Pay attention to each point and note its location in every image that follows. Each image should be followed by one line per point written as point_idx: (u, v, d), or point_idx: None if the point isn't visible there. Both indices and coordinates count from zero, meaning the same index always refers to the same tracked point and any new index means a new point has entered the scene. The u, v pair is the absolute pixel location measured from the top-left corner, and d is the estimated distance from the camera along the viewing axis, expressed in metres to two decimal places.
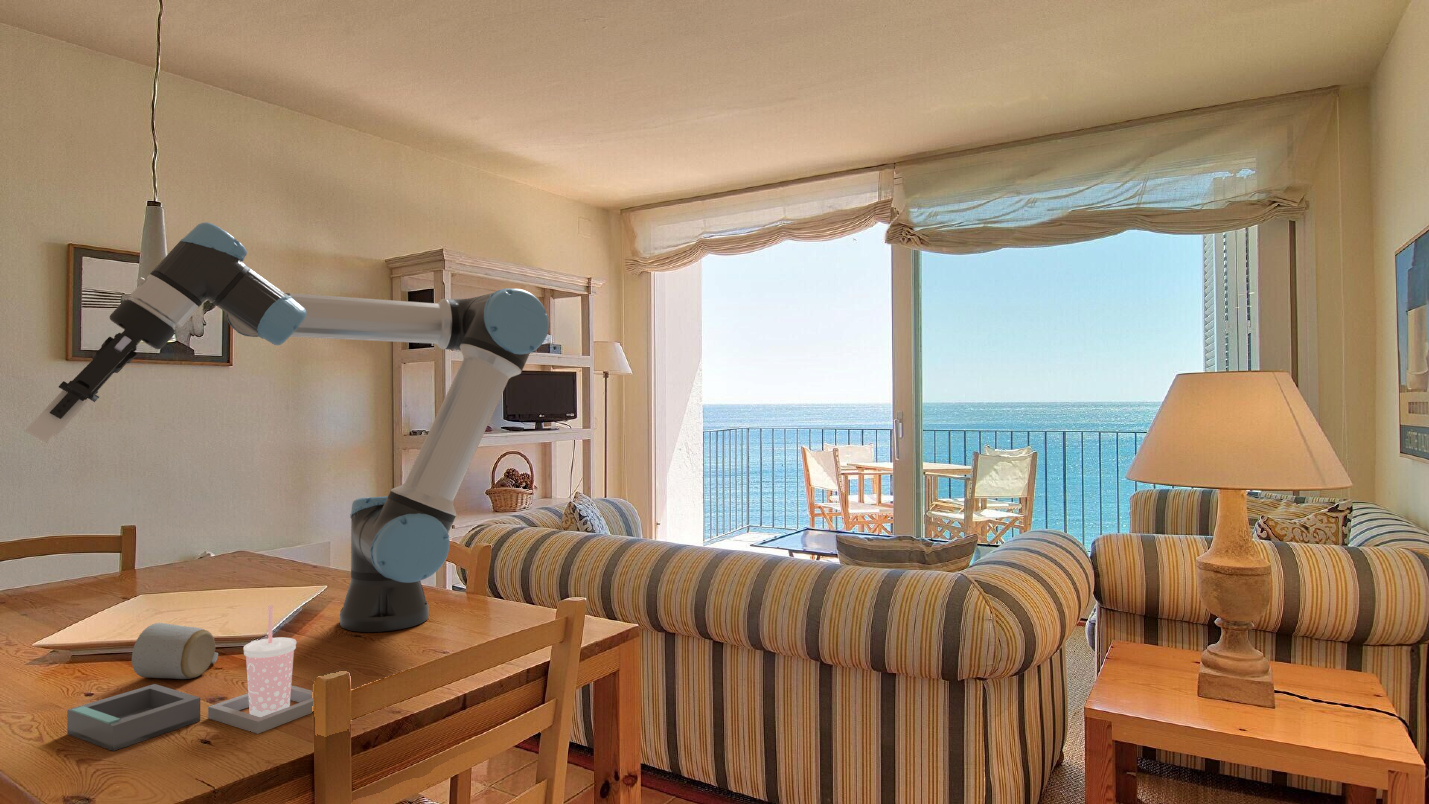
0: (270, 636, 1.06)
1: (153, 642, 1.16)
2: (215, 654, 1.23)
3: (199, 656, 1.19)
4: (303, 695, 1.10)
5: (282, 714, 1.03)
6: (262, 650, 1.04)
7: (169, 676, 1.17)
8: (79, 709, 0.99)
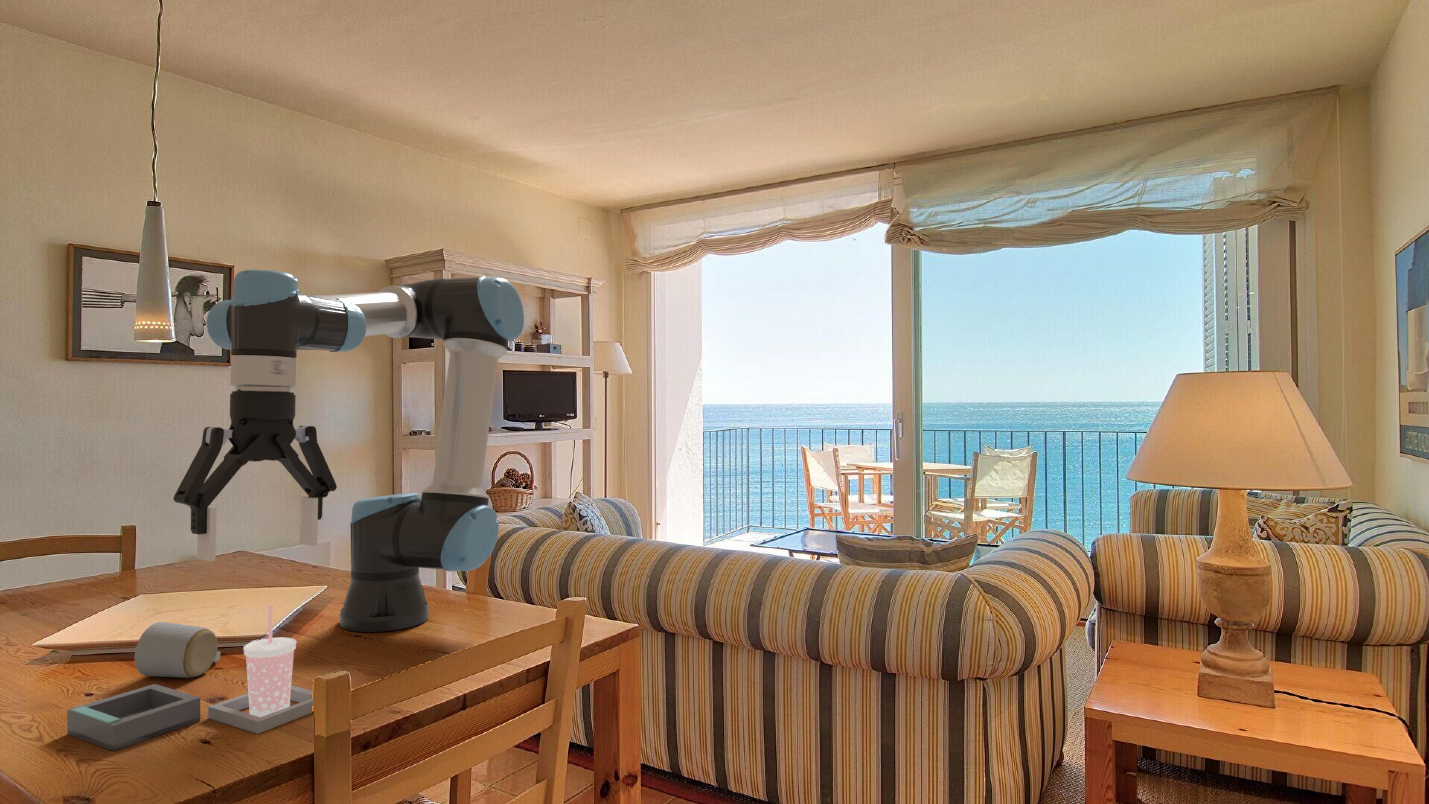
0: (270, 636, 1.06)
1: (156, 641, 1.17)
2: (217, 653, 1.24)
3: (202, 655, 1.19)
4: (303, 695, 1.10)
5: (282, 714, 1.03)
6: (262, 650, 1.04)
7: (171, 675, 1.17)
8: (79, 709, 0.99)
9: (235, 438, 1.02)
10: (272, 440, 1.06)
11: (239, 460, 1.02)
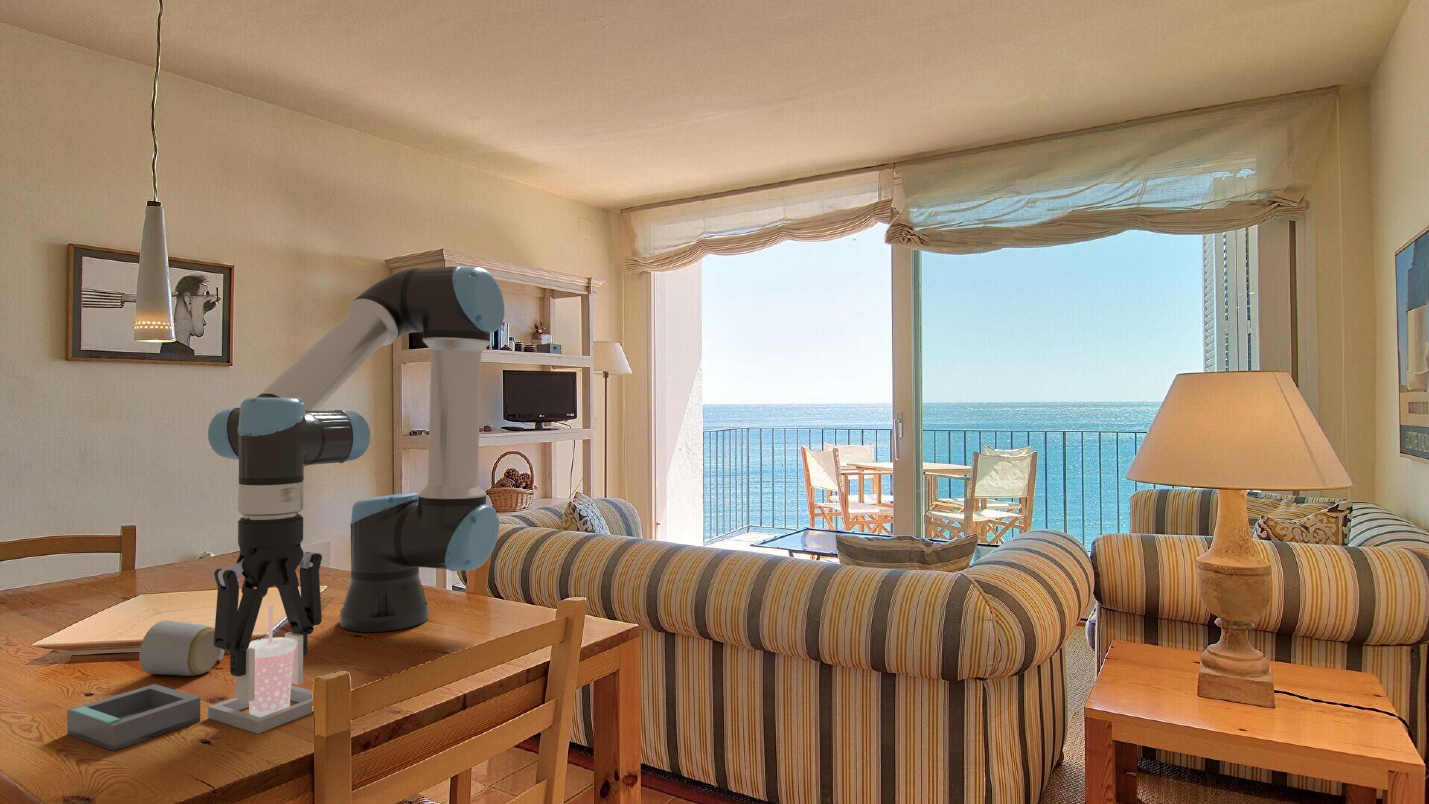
0: (270, 636, 1.06)
1: (160, 639, 1.18)
2: (221, 651, 1.25)
3: (206, 653, 1.20)
4: (303, 695, 1.10)
5: (282, 714, 1.03)
6: (262, 650, 1.04)
7: (176, 673, 1.18)
8: (79, 709, 0.99)
9: (247, 570, 1.03)
10: (281, 563, 1.06)
11: (259, 594, 1.03)
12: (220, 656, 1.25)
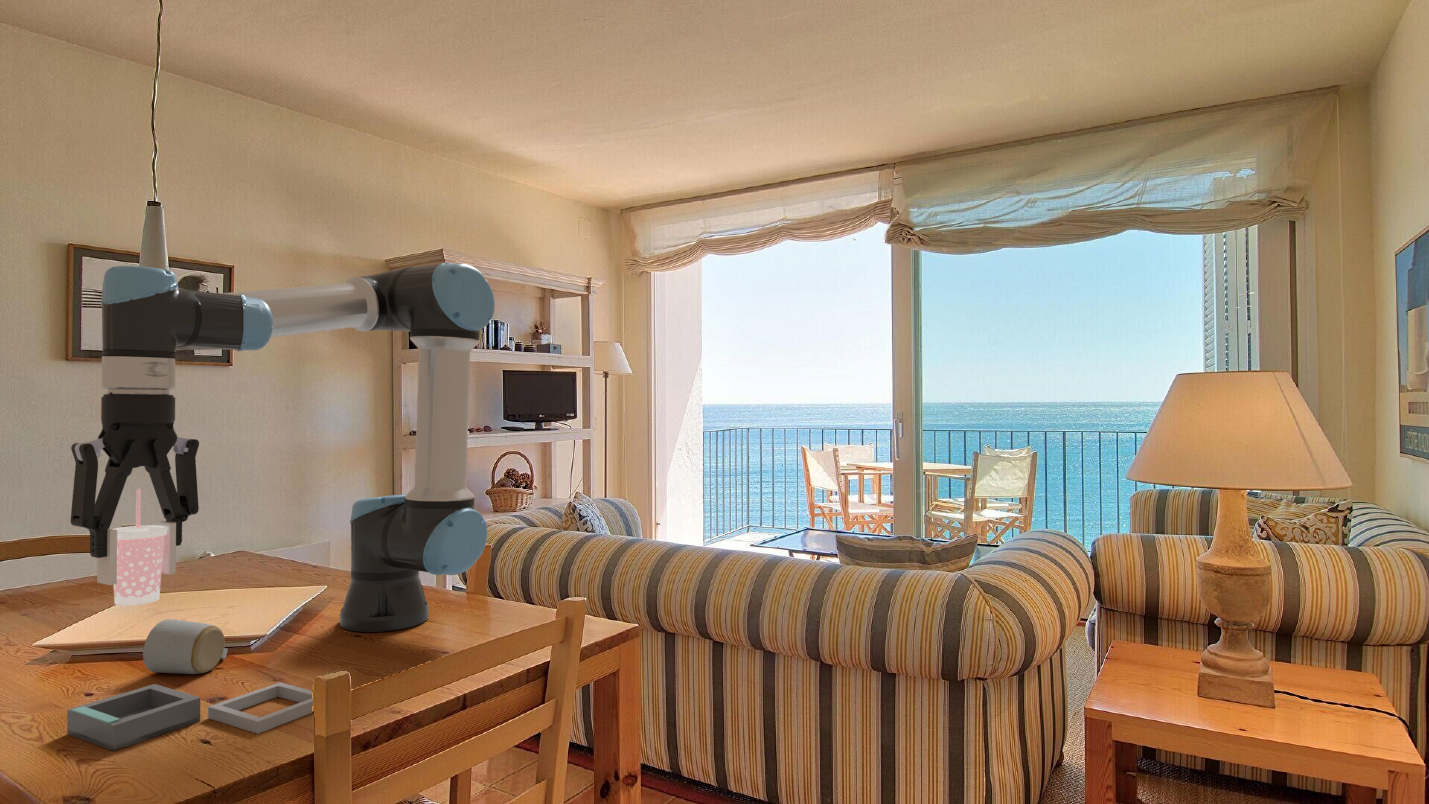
0: (138, 520, 1.01)
1: (164, 638, 1.18)
2: (224, 650, 1.25)
3: (209, 652, 1.21)
4: (303, 695, 1.10)
5: (282, 714, 1.03)
6: (127, 532, 0.99)
7: (179, 671, 1.19)
8: (79, 709, 0.99)
9: (109, 446, 0.97)
10: (149, 443, 1.01)
11: (122, 473, 0.98)
12: (223, 655, 1.25)
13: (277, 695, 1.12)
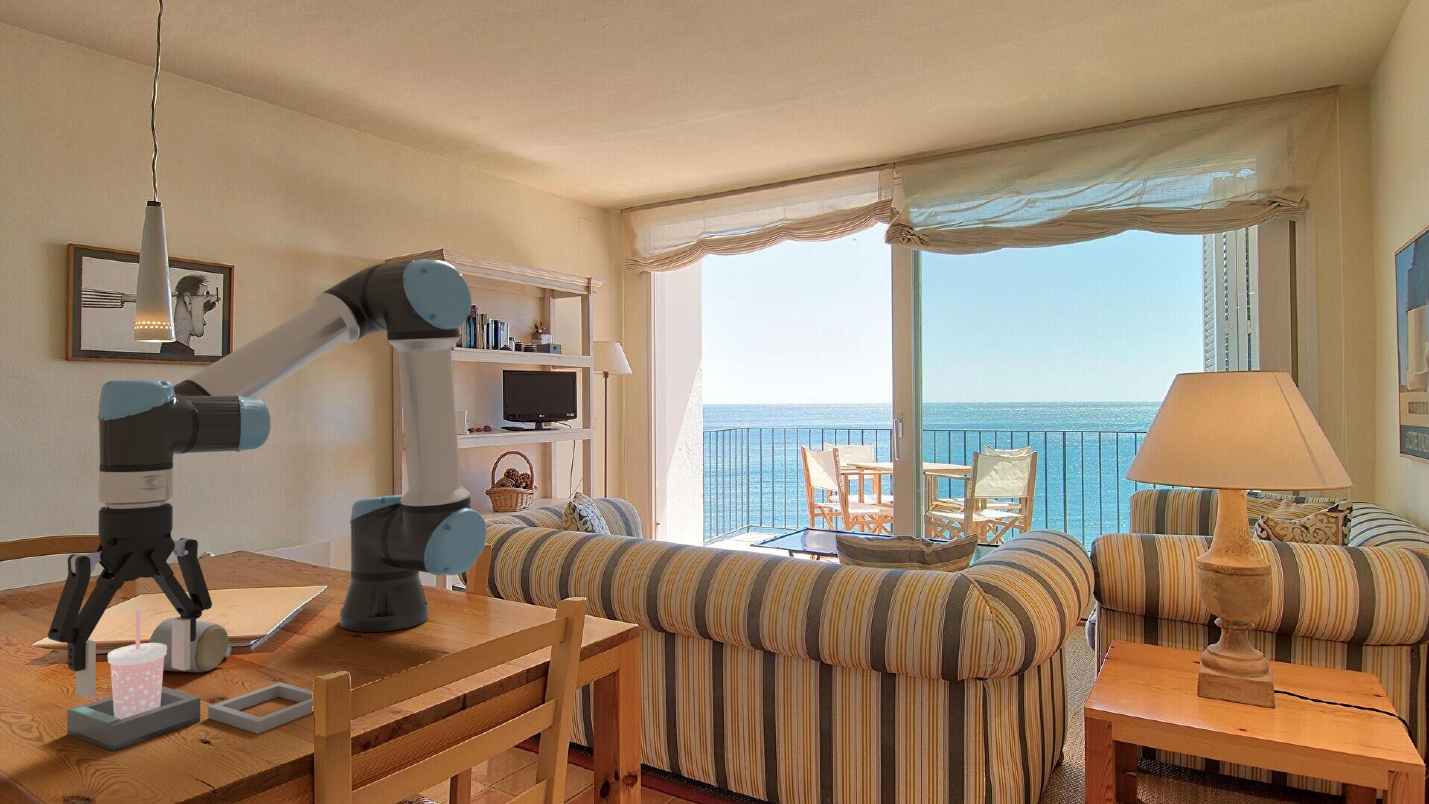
0: (137, 642, 1.01)
1: (168, 636, 1.19)
2: (228, 648, 1.26)
3: (213, 650, 1.21)
4: (303, 695, 1.10)
5: (282, 714, 1.03)
6: (126, 657, 0.99)
7: None
8: (79, 709, 0.99)
9: (104, 561, 0.97)
10: (147, 556, 1.01)
11: (113, 585, 0.97)
12: (227, 653, 1.26)
13: (277, 695, 1.12)
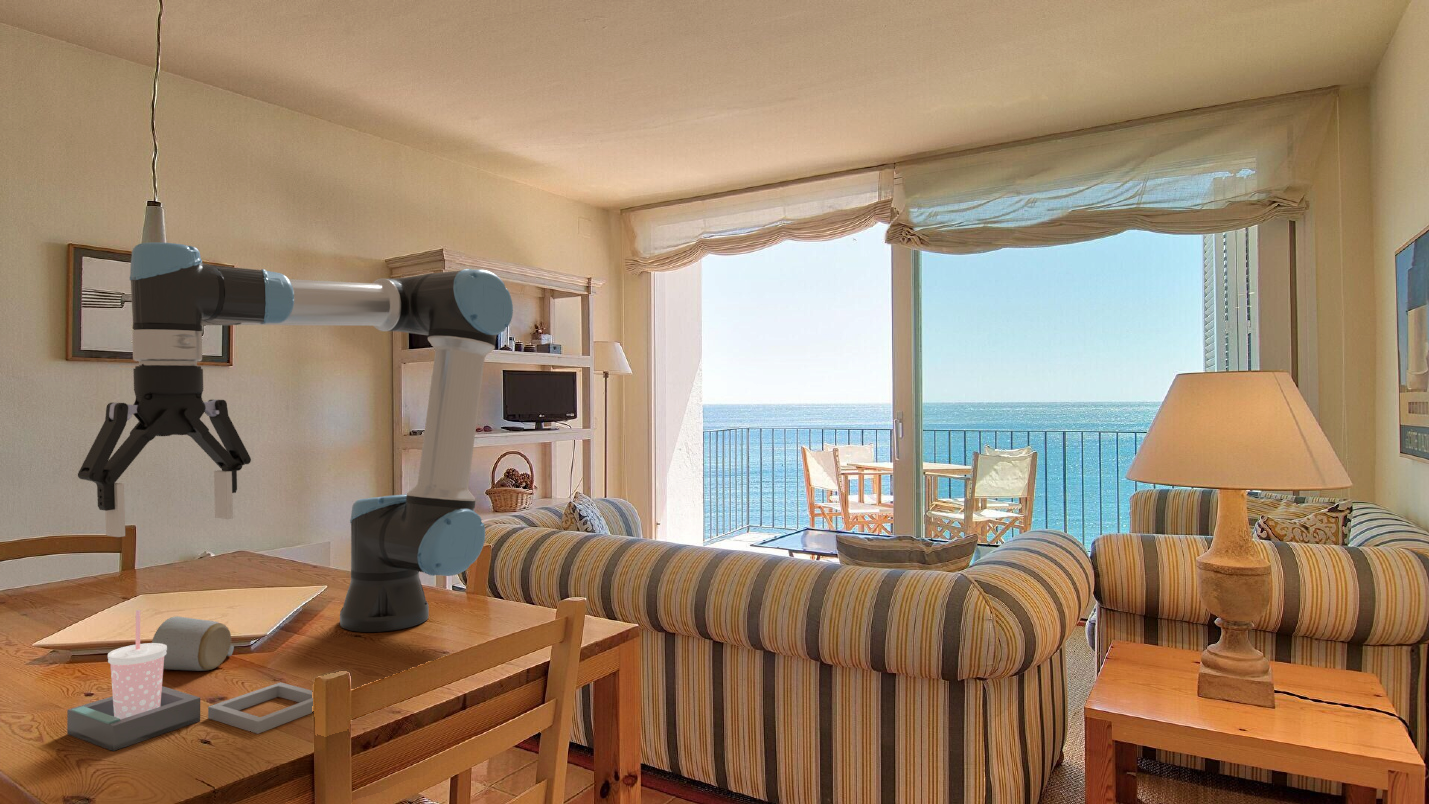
0: (137, 642, 1.01)
1: (171, 635, 1.20)
2: (231, 647, 1.27)
3: (216, 649, 1.22)
4: (303, 695, 1.10)
5: (282, 714, 1.03)
6: (126, 657, 0.99)
7: (187, 668, 1.20)
8: (79, 709, 0.99)
9: (140, 413, 1.02)
10: (181, 414, 1.06)
11: (146, 435, 1.02)
12: (230, 652, 1.27)
13: (277, 695, 1.12)
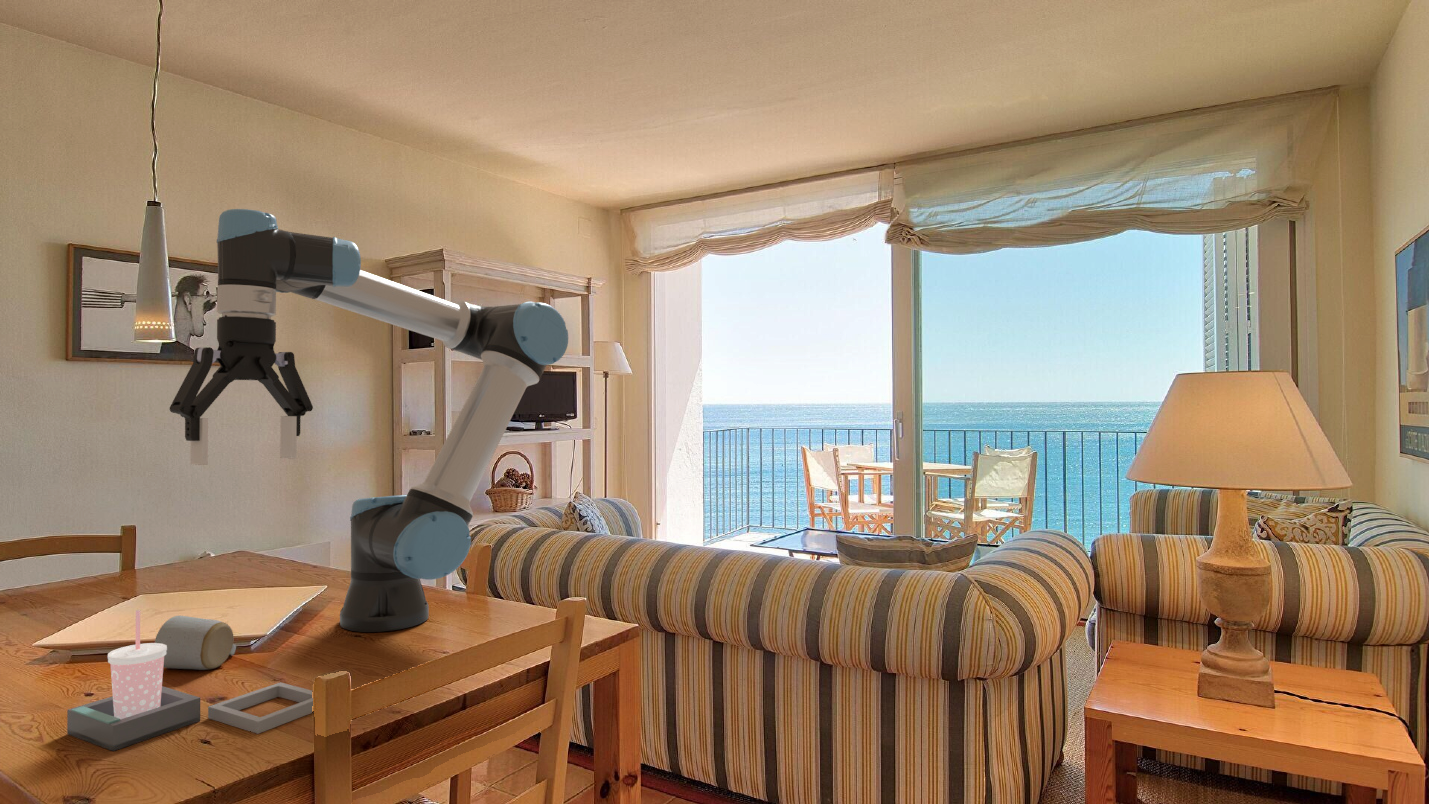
0: (137, 642, 1.01)
1: (174, 634, 1.20)
2: (233, 646, 1.27)
3: (218, 648, 1.23)
4: (303, 695, 1.10)
5: (282, 714, 1.03)
6: (126, 657, 0.99)
7: (189, 667, 1.21)
8: (79, 709, 0.99)
9: (223, 358, 1.16)
10: (256, 362, 1.20)
11: (227, 377, 1.15)
12: (232, 651, 1.27)
13: (277, 695, 1.12)
